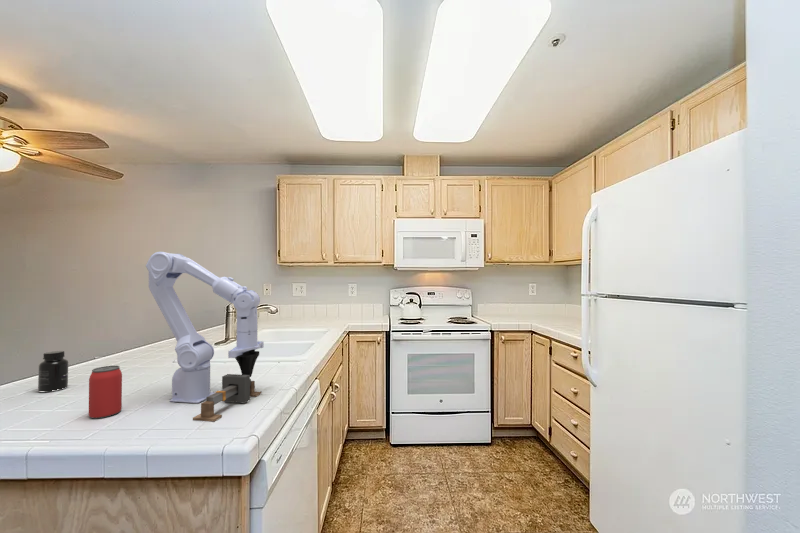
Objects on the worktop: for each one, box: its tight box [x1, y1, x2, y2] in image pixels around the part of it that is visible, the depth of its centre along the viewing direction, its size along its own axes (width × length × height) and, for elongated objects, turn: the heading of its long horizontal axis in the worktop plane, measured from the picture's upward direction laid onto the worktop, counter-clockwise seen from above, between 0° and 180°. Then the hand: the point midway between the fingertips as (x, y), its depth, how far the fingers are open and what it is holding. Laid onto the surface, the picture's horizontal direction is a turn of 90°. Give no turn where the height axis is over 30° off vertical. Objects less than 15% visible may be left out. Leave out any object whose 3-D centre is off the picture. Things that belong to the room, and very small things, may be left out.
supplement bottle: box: [37, 350, 69, 392], centre depth 112 cm, size 7×7×12 cm
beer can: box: [88, 365, 123, 419], centre depth 91 cm, size 7×7×12 cm
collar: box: [221, 373, 251, 404], centre depth 98 cm, size 7×2×7 cm, turn 80°
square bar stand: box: [192, 378, 262, 422], centre depth 95 cm, size 6×20×5 cm, turn 170°
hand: (247, 376), depth 103 cm, fingers closed
